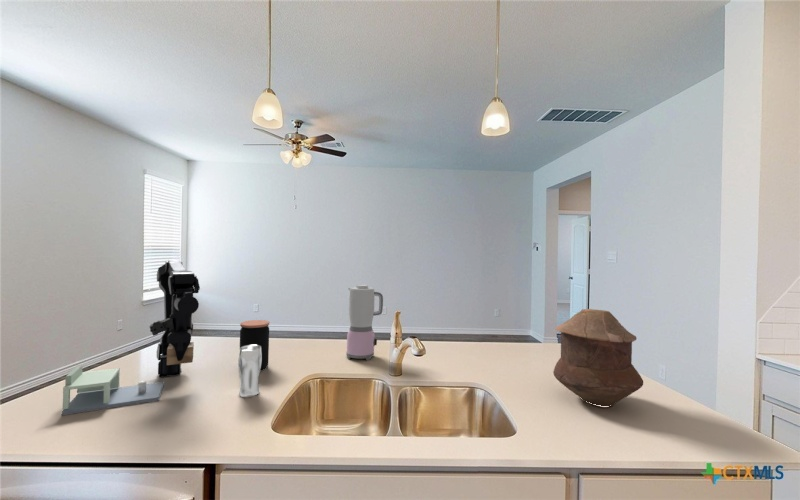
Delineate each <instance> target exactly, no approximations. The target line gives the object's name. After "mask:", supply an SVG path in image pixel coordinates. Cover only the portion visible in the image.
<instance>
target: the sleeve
mask: <svg viewBox="0 0 800 500" xmlns="http://www.w3.org/2000/svg"><path fill="white" fill-rule="evenodd" d="M194 346H195V342H194V341H190V343H189V345H188V348H187V350H186V352H185V354H184V356H183V359H182V360H181V361H178V360H177V356H176V352H175V348H174V346H173V345H172V344H169V346H168V349H167V365H174V364H181V365H182V364H189V363H193V361H194Z"/></svg>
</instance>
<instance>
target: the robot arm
mask: <svg viewBox="0 0 800 500" xmlns="http://www.w3.org/2000/svg"><path fill="white" fill-rule="evenodd" d="M156 272H157V273H156V283H157V282H158V288H160V290H161V291H162V292H163V298H164V299H163V301H164V302H163V307H164V309H163V310H164V319H161V320H158V321H154V322H153V323H151V324H150V325H149V326H148V327H149V329H150V332H151V334H152V336H157V335H158V334H160V333H163V334H162V335H161V337H160V338H159V343H157V349H156V359H157V361H159V362H158V363H157V375H158V377H159V378H164V377H165V378H166V377H174V376H180V375H181V372H182V364H174V365H167V349H168V346H169V344H172V345H173V346H174V348H175V352H176V356H177V360H178V361H181V360H182V359H183V356H184V354H185V352H186V350H187V348H188V345H189V343H190V342H192V335H193V330H194V323H193V322H192V320H193V318H192V317H193V314H195V312H197V310H198V309H199V305H200V304H199V301H198V300H199V299H197V298H196V297H194V294H199V291H200V290H201V288H200V283H199V278H198V277H197V274H196V275H195V273H194V271H191V270H186V269H185V267H184V266H183V261H182V260H177V259H176V260H169V259H168V260H165V263H164V264H163V265H161V266H159V267H158V268H157V271H156Z"/></svg>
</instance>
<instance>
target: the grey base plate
mask: <svg viewBox="0 0 800 500" xmlns="http://www.w3.org/2000/svg"><path fill="white" fill-rule="evenodd" d="M147 382H148V381H146V380H142V381H139V382H138V384H133V385H129V386H122V387H121V386H119V388H112V389H110V402H109V403H103V402H104V390H97V391H89V392H82V393H77V394H76V395H75V396H74V397H73V398H72V399H71V400H70V407H69V408H68V409H62V410H61V416H63V415H71V414H77V413H78V414H79V413H85V412H91V411H99V410H105V409H112V408H117V407H119V408H120V407H125V406H131V405H132V406H133V405H137V404H145V403H151V402H157V401H159V400H160V397H161V394H162V391H163V388H164V386H165V381H159V382H149V383H147Z"/></svg>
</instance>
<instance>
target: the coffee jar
mask: <svg viewBox="0 0 800 500" xmlns="http://www.w3.org/2000/svg"><path fill="white" fill-rule="evenodd" d="M239 325H240V327H241V328H240V330H239V348H240V347H242V346H247V345H259V346H261V353H262V361H261V369H260V372H262V371H264V370H266V369H267V368H268V366H269V353H270V352H269V350H270V347H269V346H270V327H269V326H270V321H268V320H266V319H253V320H251V319H250V320H244V321H241V322H240V323H239Z"/></svg>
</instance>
